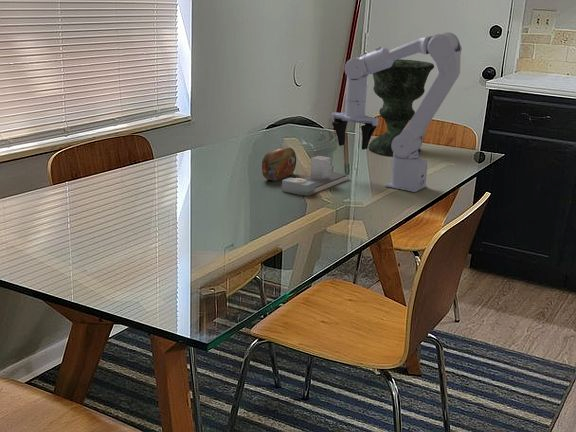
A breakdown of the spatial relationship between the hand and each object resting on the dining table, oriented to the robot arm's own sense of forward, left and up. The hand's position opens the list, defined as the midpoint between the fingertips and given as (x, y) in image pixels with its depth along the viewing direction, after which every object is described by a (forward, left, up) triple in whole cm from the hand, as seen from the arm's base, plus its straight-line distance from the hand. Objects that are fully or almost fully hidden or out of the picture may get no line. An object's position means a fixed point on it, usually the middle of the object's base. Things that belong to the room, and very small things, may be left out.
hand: (352, 147), depth 217 cm
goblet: (+7, -43, -10) cm, 45 cm away
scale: (+4, +13, -9) cm, 17 cm away
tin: (+17, +13, -10) cm, 23 cm away
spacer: (+4, +11, -8) cm, 14 cm away
